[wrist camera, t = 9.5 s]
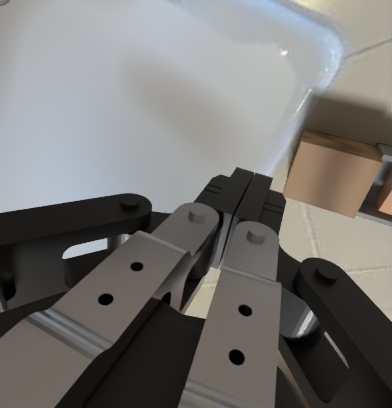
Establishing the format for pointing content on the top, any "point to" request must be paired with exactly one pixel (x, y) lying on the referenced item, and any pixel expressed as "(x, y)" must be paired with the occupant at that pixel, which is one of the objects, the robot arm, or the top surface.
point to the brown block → (332, 172)
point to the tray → (378, 190)
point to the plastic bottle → (4, 2)
